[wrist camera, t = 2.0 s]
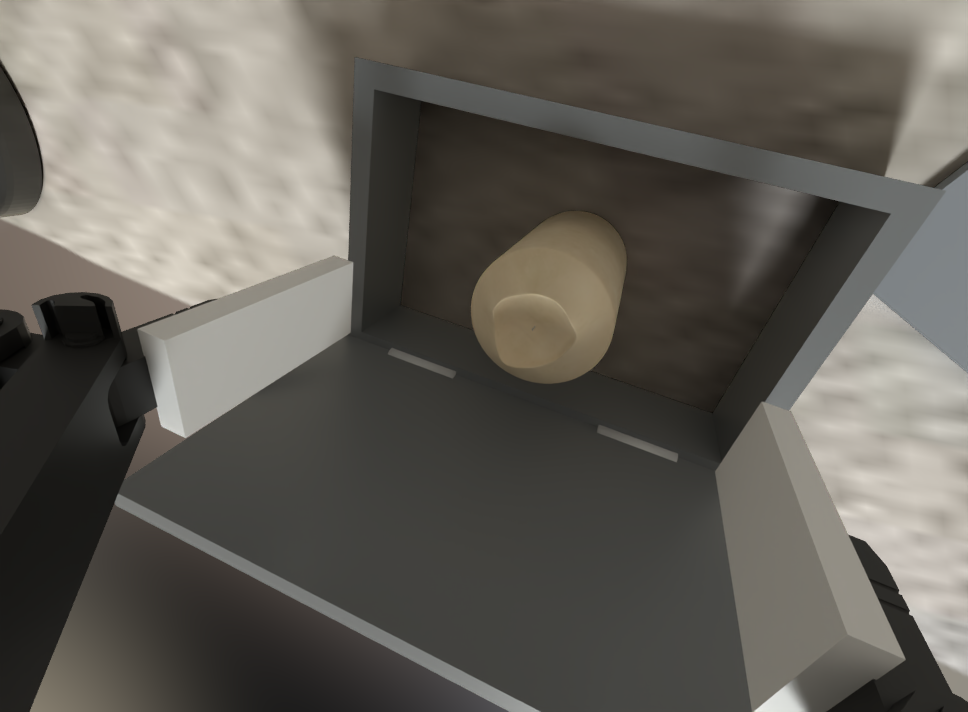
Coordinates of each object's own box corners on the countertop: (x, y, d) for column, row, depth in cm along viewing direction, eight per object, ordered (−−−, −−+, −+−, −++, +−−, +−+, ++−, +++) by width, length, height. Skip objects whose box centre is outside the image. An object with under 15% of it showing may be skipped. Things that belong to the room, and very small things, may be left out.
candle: (574, 328, 25) (533, 427, 17) (505, 262, 25) (428, 330, 16) (651, 262, 22) (648, 342, 14) (574, 185, 22) (523, 220, 13)
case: (375, 317, 30) (100, 500, 15) (393, 66, 22) (-121, -58, 7) (718, 439, 25) (805, 870, 10) (884, 177, 18) (1981, 408, 3)
